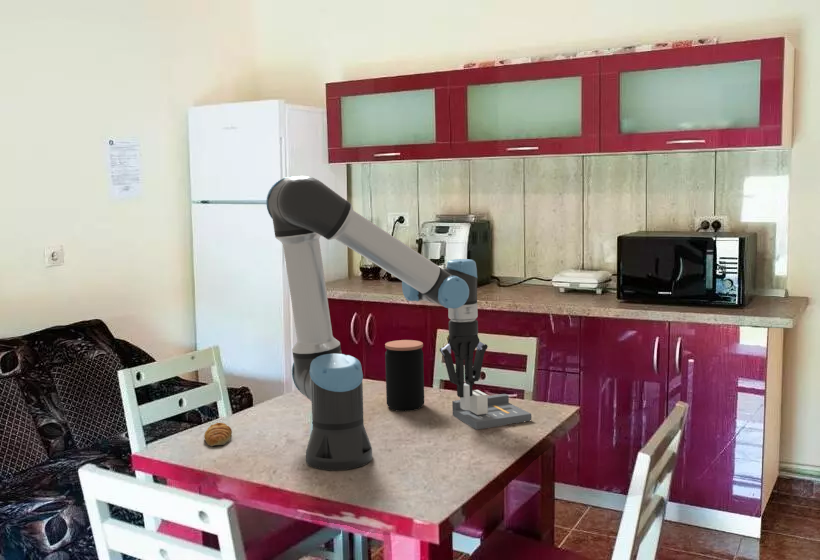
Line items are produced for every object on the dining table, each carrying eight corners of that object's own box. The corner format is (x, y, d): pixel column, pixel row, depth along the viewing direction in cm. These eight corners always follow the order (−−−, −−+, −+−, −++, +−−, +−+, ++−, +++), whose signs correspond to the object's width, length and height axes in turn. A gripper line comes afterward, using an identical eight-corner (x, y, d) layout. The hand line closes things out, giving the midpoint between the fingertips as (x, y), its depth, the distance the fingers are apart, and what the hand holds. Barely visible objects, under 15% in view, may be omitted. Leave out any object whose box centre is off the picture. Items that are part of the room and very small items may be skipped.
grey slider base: (476, 429, 207) (475, 414, 207) (452, 415, 220) (452, 401, 219) (531, 421, 213) (531, 406, 213) (505, 407, 226) (505, 393, 225)
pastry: (231, 446, 199) (230, 431, 199) (203, 449, 198) (202, 434, 197) (232, 435, 208) (231, 420, 208) (205, 437, 207) (204, 423, 207)
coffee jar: (426, 401, 235) (424, 339, 232) (422, 412, 224) (421, 347, 222) (389, 401, 236) (387, 339, 233) (384, 411, 225) (382, 347, 223)
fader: (477, 414, 212) (477, 395, 211) (467, 409, 217) (467, 390, 216) (487, 413, 213) (487, 394, 212) (477, 408, 218) (477, 389, 217)
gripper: (446, 324, 204) (448, 415, 207) (492, 319, 209) (494, 409, 212) (434, 319, 211) (436, 408, 214) (479, 315, 216) (480, 402, 219)
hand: (465, 408), depth 213 cm, fingers closed
